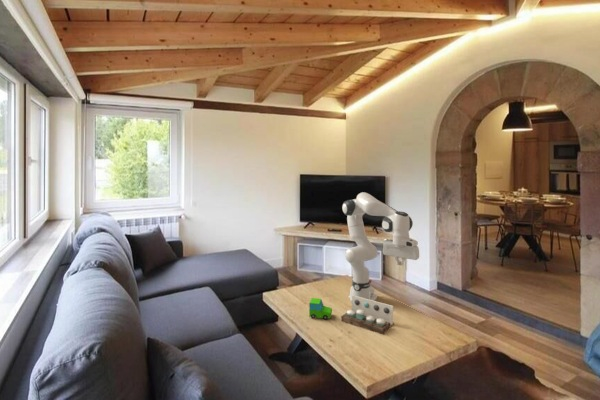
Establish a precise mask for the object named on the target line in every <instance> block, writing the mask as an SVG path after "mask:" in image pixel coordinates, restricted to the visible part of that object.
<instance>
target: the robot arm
mask: <svg viewBox="0 0 600 400" xmlns="http://www.w3.org/2000/svg"><path fill="white" fill-rule="evenodd" d="M341 209H342V212H343V214H344V215H345V216H347V217H346V221H347V228H348V233H349V234H348V235H349V238H350V240H352V241H353V242H355V244H356V246H352V247H350V248H348V249H346V251H345V254H344V256H345V260H346V261H347V262H348V263H349V264H350V266H351V268H352V279H351V280H352V281H351V284H352V286H350V291H349V295H348V296H347V297H348V299H349V300H350V302H352V295H353V296H357V297H361V298H365V299H369V300H373V301H377V299H378V294H376V293H375V289H374V287H373V286H371V283H372V282H373V281H372V279H370V270H369V268H368V267H366V266H365V262H367V261H372V260H374V259H375V258H377V257H378V253H379V252H378V249H377V246H375V245H374V244H373V243H371V241H370V240H369V238H368V236H367V232H366V229H365V225H364V221H363V216H367V215H368V216H374V217H375V216H376V217H383V218H382V220H381V228H382V230H383V231H384V232H385V233H392V239H391V238H390V239H389V238H386V239H384V240H383V242H382V244H383V245H382V254H383V255H384V256H387V257H388V256H389V257H395V261H396V263H397V264H396V265H397V266H404V262H405V260H406V259H408V260H413V261H417V260H419V259H420V248H419V246H418V244H419V243H418V241H417V240H415V239H414V238H411V237H410V231H411V229H412V228H413V220H412V217H411V216H410V215H409V214H408V213H407V212H406V211H400V210H399V211H398V210H397V209H395V208H394V207H392V206H390V205H387V204H385V203H384V202H382V201H381V200H378V199H377V198H376V197H375V196H373V195H371V194H370V193H368V192H365V191H364V192H363V191H362V192H360V193H358V194H357V195H356V198H354V199H347V200H345V201H343V202H342V205H341ZM400 258H401V261H400Z"/></svg>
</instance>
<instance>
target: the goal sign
mask: <svg viewBox="0 0 600 400" xmlns="http://www.w3.org/2000/svg"><path fill="white" fill-rule="evenodd" d="M359 309H361V310H364V311H365V316H374V317H375V319H379V318H380V319H384V320H385V322H389V323H390V328H391V327H393V326H394V325H395V323H394V305H391V304H388V303H383V302H380V301H377V300H375V301H373V300H369V299H365V298H361V297H357V296H353V295H352V301H351V310H353V311H355V313H357V310H359Z"/></svg>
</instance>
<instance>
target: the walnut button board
mask: <svg viewBox="0 0 600 400" xmlns="http://www.w3.org/2000/svg"><path fill="white" fill-rule="evenodd" d="M340 320H341V322H342V323H346V324H349V325H352V326H355V327H358V328H360V329H364V330H366V331H367V330H368V331H371V332H374V333H378V334H381V335H384V334H385V333H386V332H387V331H389V330H390V328H391V327H390V323H389V322H385V325H384V326H383V327H381V326H378V325H376V323H377V322H376V321H377V319H375V322H374V323H368V322H366V316H365V318H364V319H363V320H360V319H356V313H355V316H354V317H353V318H352V317H349V316H347V312H346V313H344V314H343V315H341V317H340Z"/></svg>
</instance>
